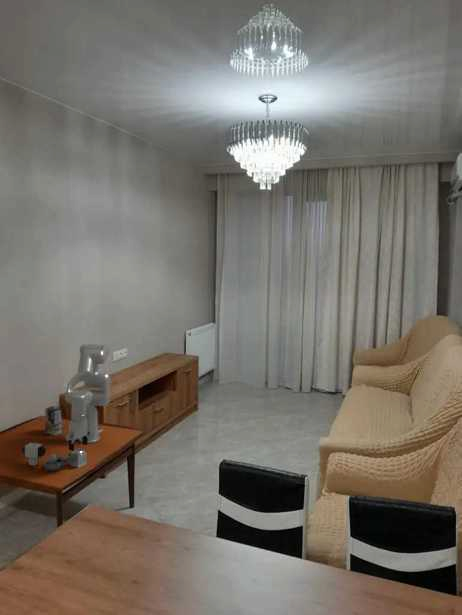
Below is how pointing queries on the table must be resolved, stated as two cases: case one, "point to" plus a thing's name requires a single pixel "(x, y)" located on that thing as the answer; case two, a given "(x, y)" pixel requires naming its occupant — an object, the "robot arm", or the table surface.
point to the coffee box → (53, 420)
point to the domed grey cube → (78, 458)
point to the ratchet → (56, 462)
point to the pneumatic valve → (33, 452)
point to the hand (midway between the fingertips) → (78, 447)
